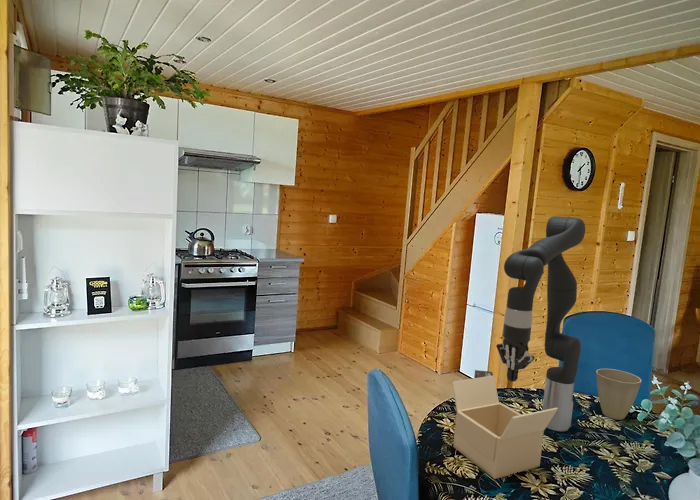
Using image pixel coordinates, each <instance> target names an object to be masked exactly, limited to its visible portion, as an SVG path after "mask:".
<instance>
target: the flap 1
mask: <svg viewBox="0 0 700 500" xmlns="http://www.w3.org/2000/svg"><path fill="white" fill-rule="evenodd" d="M451 385H452V390H453V391H452V392H453V396H454V402H455V407H456V412H457V411H458V410H463V409H469V408H474V407H479V406H485V405H490V404H496V403H500V401H499V396H498V391H497V385H496V378H495V375H494V374H493V376H486V377H480V378H474V377H473V378H467V379H466V378H465V379H461V380H454V381H453V380H452V381H451Z"/></svg>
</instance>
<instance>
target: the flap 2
mask: <svg viewBox="0 0 700 500" xmlns="http://www.w3.org/2000/svg"><path fill="white" fill-rule="evenodd" d="M557 410H558V408H552V409H547V410H543V411H542V410H538V411H535V412H534V411H533V412H529V413H525V414H522V415H519V416H514V417H512V418H511V420H510V422H509V423H508V425H507V427H506V429H505V430H504V432H503V434H502V436H501V437H500V440H503V439H508V438H512V437H516V436H520V435H525V434H529V433H533V432H537V431H542V430H544V431H545V430H546V429H547V425H548V424H549V422H550V421H551V419H552V417H553V416H554V414H555V413H556V411H557Z"/></svg>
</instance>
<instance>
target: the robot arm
mask: <svg viewBox="0 0 700 500" xmlns="http://www.w3.org/2000/svg"><path fill="white" fill-rule="evenodd" d="M545 227H546V228H545V237H543V238H541V239H539V240H536V241H535V242H534V243H532V245H530V246H529V247H527V248H524V249H521V250H518V251H515V252H513V253H511V254H510V255H509V256H508V257H507V258H506V260H505V261H504V264H503V271H504V273H505V275H506V276H507V277H509V278H511V279H514V280H515V279H516V280H521V281H525V283H524V285H523V286H513V287H510V288H509V290H508V292H507V300H506V308H505V309H506V310H505V314H504V320H503V332H502V337H503V339H502V342H501V343H497V344H496V348H497V352H498V354H499V357H500V360H501V361H502V363H503V364H505V365H506V367H507V370H506V371H507V372H506V379H507V380H508V381H509V382H511V383H512V382H516V381H517V380H518V379H519V378H518V377H519V370H525V369H526V368H527V367H528V366H529V365H530V364H531V363H532V362H533V361H534V360H535V356H534V355H531V354H530V352H529V351H530V350H529V345H528V344H529V342H530V341H531V334H532V324H533V306H534V297H535V294H536V291H537V288H538V286H539V283H540V280H541V279H542V276H543V274H544V269H545V268H544V267H545V266H546V265H547V281H546V282H547V287H546V289H547V290H546V296H547V297H546V299H547V300H546V301H547V303H546V305H547V311H546V312H547V313H546V316H547V317H546V327H545V336H544V352H545V355H547V357H549V358H551V359H555V360H558V361H560V362H563V364H562V366H552V367H548V368H547V370H546V375H545V384H544V393H543V400H542V408H541V409H542V410H541V411H543V410H547V409H552V408H558V410H557V411H556V413H555V414H554V416H553V417H552V419H551V421H550V422H549V424H548V425H547V427H546V429H549V430H552V431H556V432H567V431H568V430H569V429H570V428H571V426H572V425H571V424H572V416H573V411H574V410H573V409H574V401H573V396H574V388H575V380H576V376H577V372H578V368H579V361H580V357H581V350H582V344H581V341H580V339H579V338H577V337H575V336H572V335H568V334H563V333H561V324H562V321H563V319H564V318H565V317H566V316H567V315H568V313H569V312H570V311H571V310H572V309H573V307H574V306H575V304H576V301H577V294H578V283H577V282H578V281H577V280H576V277H575V275H574V273H573V272H572V270H571V269H570V267H569V265H568V264H567V262H566V261H565V260H566V259H564V256H563V253H564V252H566V251H568V250H570V249H571V248H575V247H576V246H578V245H580V243H582V241H583V240H584V238H585V234H586V225H585V222H584V221H583V219H582V218H579V217H573V216H559V215H558V216H557V215H556V216H551V217H549V219H548V221H547V223H546V226H545Z"/></svg>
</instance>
